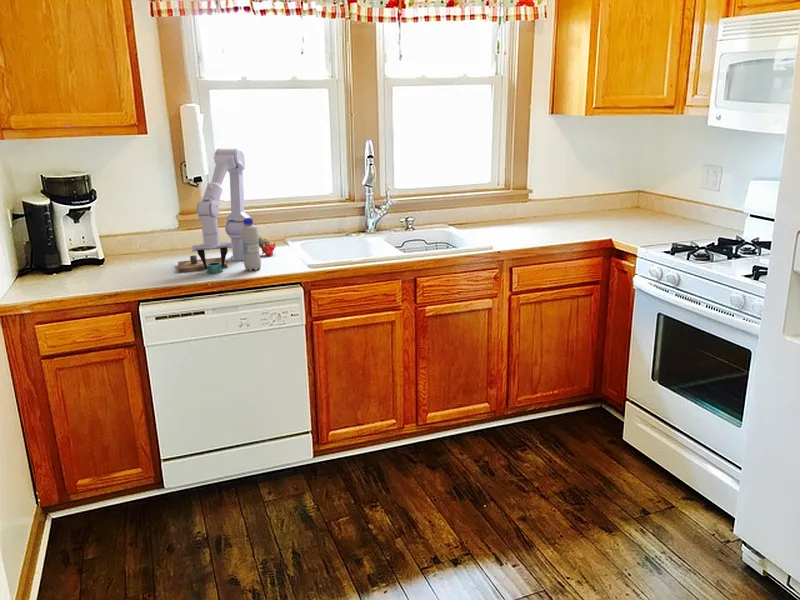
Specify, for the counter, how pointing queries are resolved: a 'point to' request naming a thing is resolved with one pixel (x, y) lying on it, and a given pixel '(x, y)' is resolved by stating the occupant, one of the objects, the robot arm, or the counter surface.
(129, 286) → the counter surface
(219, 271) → the ring
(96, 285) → the counter surface
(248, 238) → the bottle
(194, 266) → the board
